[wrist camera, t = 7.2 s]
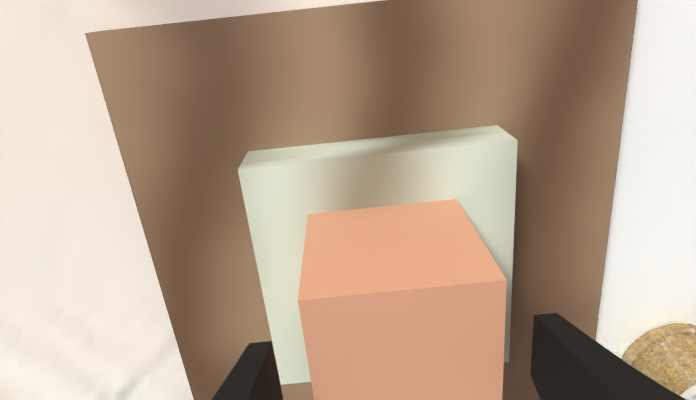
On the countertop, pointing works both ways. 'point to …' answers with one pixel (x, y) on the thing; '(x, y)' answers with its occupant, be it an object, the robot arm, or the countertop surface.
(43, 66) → the countertop surface
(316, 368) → the terracotta cube
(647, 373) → the sprinkles bottle
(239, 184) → the walnut base board
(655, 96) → the countertop surface
